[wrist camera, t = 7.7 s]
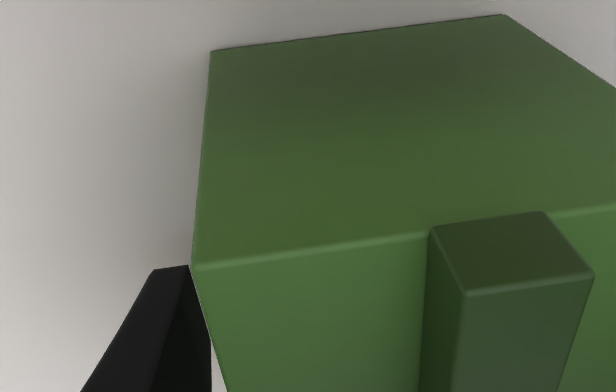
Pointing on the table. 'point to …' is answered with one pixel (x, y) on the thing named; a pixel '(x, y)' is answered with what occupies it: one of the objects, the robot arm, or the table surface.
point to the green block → (409, 214)
